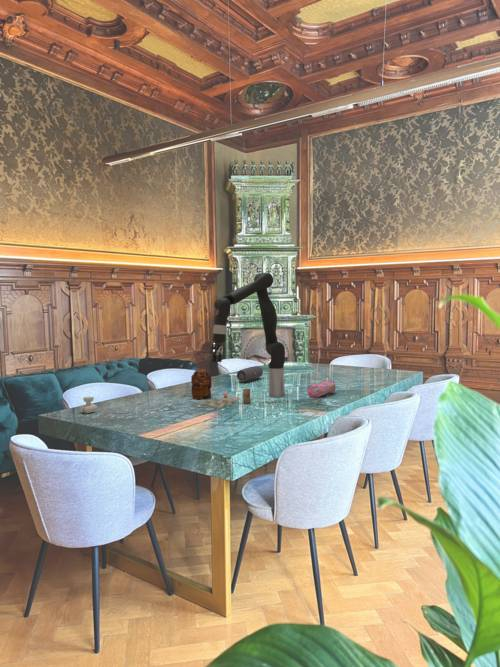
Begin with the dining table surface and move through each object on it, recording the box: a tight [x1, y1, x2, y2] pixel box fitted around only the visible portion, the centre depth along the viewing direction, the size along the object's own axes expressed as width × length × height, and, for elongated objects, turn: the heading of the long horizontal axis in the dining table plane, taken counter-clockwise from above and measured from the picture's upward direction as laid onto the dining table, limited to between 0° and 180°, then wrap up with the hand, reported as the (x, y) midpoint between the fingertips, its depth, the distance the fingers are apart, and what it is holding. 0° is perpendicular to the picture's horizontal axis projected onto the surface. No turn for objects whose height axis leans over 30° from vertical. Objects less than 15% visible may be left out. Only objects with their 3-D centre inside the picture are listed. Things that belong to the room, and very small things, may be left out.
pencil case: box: [307, 379, 336, 399], centre depth 275 cm, size 21×9×9 cm, turn 140°
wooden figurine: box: [190, 368, 213, 401], centre depth 273 cm, size 12×6×18 cm, turn 121°
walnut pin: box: [242, 388, 251, 405], centre depth 258 cm, size 4×4×8 cm
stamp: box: [79, 396, 98, 414], centre depth 243 cm, size 9×7×8 cm
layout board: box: [199, 398, 235, 409], centre depth 257 cm, size 14×14×1 cm
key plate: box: [220, 391, 241, 402], centre depth 268 cm, size 8×8×4 cm
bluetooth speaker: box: [236, 365, 264, 383], centre depth 330 cm, size 23×9×10 cm, turn 147°
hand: (216, 361), depth 255 cm, fingers open, 8 cm apart
